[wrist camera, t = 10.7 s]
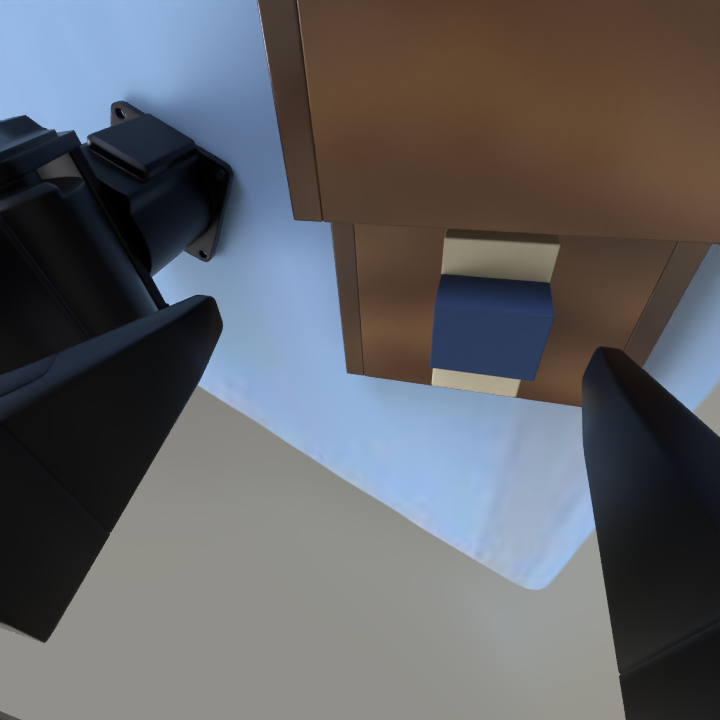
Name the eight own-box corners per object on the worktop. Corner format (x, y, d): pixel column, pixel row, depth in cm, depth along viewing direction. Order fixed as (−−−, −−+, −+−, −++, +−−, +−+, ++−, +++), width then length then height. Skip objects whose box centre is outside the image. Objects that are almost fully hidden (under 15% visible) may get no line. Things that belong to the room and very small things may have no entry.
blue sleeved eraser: (515, 379, 23) (517, 434, 20) (434, 368, 24) (425, 419, 21) (557, 228, 17) (568, 276, 14) (447, 222, 18) (437, 266, 15)
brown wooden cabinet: (611, 387, 24) (633, 473, 20) (354, 353, 28) (327, 420, 24) (1031, -430, 8) (1580, -860, 4) (301, -261, 12) (187, -396, 8)
